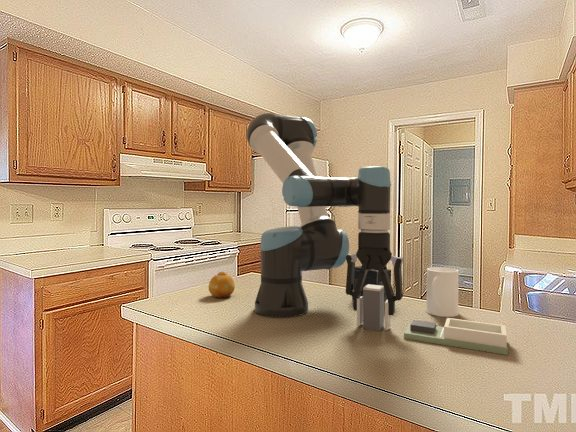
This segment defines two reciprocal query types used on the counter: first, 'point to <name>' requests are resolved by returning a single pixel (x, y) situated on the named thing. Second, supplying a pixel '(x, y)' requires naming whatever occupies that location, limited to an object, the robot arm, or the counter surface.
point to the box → (371, 279)
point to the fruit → (221, 285)
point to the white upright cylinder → (442, 291)
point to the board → (436, 335)
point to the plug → (373, 307)
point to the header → (475, 332)
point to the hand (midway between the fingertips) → (373, 325)
